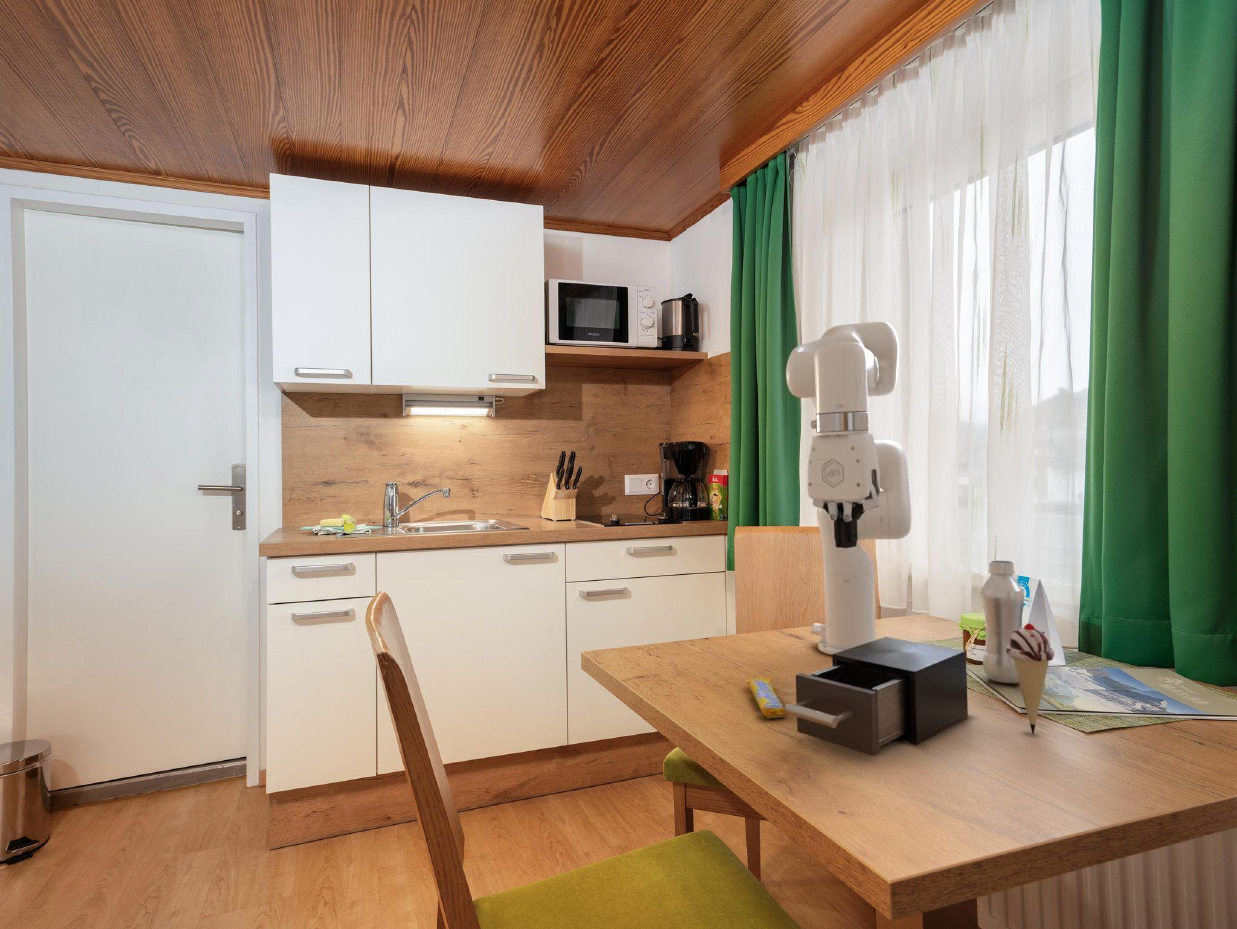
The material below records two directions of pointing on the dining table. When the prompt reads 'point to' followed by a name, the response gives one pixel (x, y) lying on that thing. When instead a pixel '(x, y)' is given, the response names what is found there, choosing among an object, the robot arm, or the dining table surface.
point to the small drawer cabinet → (919, 680)
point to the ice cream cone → (1030, 666)
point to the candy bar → (766, 697)
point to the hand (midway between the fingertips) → (846, 546)
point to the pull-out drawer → (852, 706)
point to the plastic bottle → (1001, 620)
